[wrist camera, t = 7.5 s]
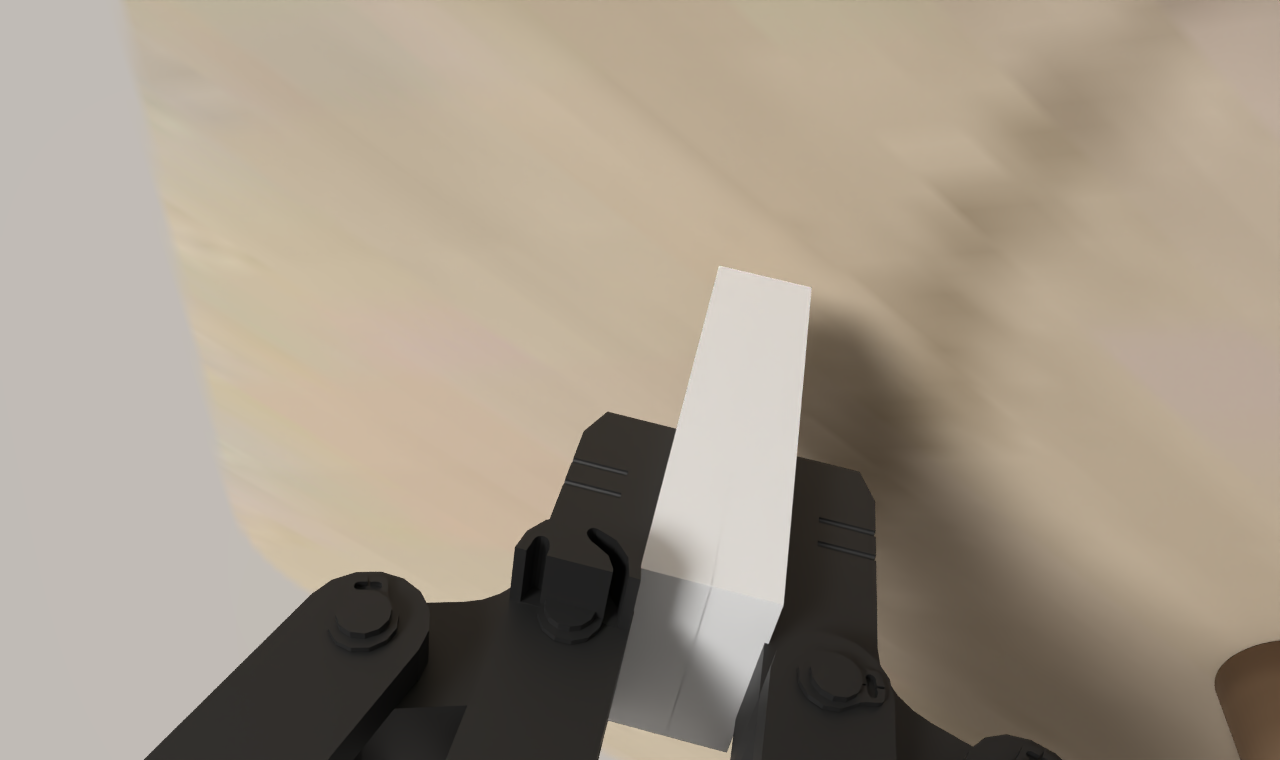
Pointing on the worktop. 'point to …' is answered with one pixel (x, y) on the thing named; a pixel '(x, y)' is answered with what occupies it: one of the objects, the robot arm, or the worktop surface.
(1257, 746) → the post
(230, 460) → the worktop surface
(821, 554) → the robot arm
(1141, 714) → the worktop surface
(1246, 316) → the worktop surface
